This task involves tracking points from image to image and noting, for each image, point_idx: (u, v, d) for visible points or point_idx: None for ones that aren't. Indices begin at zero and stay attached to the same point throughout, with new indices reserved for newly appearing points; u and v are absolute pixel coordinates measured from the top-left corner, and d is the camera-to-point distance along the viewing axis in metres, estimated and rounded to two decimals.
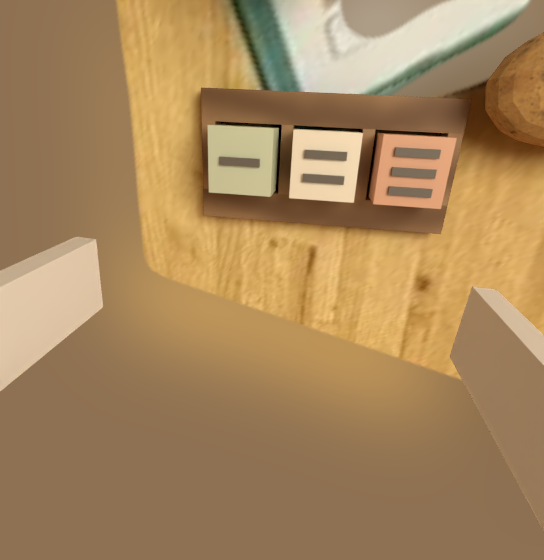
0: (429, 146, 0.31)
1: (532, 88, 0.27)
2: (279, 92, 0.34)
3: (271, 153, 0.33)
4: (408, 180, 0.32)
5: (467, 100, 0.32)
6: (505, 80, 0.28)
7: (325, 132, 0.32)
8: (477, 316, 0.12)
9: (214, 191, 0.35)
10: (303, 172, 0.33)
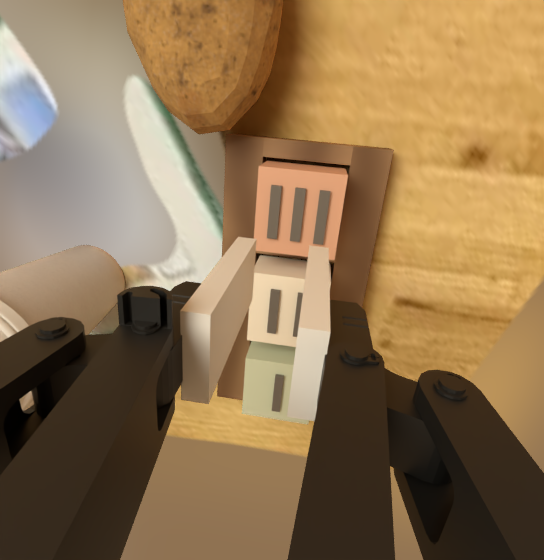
0: (267, 197, 0.25)
1: (197, 92, 0.22)
2: None
3: (270, 362, 0.30)
4: (307, 219, 0.25)
5: (227, 138, 0.27)
6: (193, 121, 0.23)
7: (250, 309, 0.29)
8: None
9: None
10: (291, 333, 0.29)
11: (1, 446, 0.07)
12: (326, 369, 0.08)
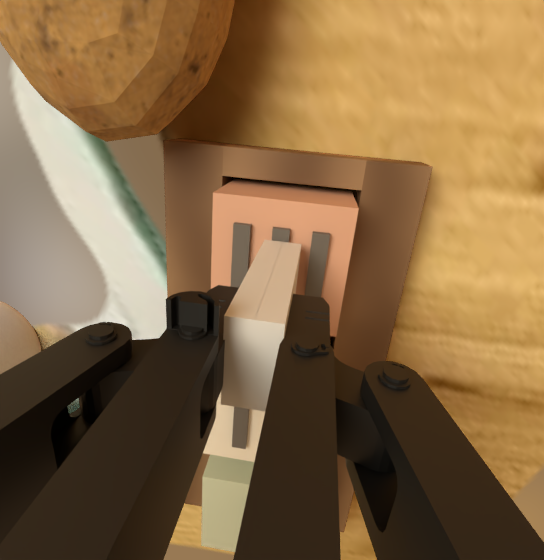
0: (228, 241, 0.16)
1: (78, 64, 0.11)
2: None
3: (239, 484, 0.20)
4: None
5: (166, 147, 0.17)
6: (85, 120, 0.13)
7: None
8: None
9: None
10: None
11: (47, 452, 0.07)
12: (277, 362, 0.08)
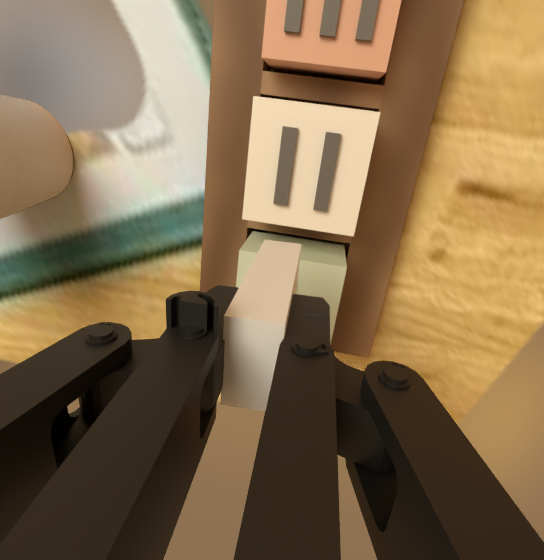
0: None
1: None
2: (205, 226, 0.24)
3: None
4: None
5: None
6: None
7: (249, 165, 0.18)
8: None
9: None
10: (311, 207, 0.19)
11: (47, 452, 0.07)
12: (278, 362, 0.08)
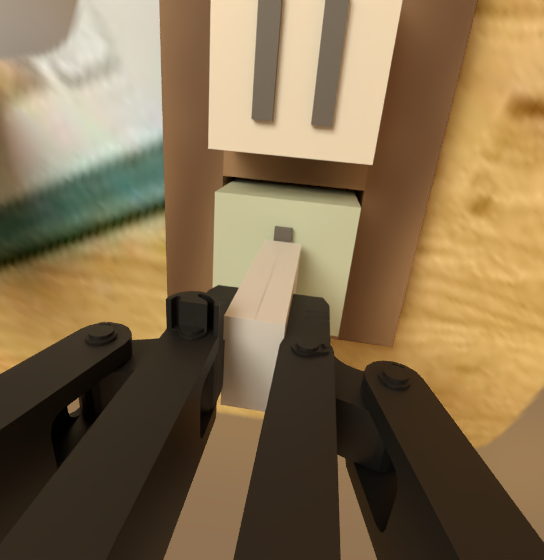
0: None
1: None
2: (166, 177, 0.18)
3: (265, 199, 0.15)
4: None
5: None
6: None
7: (212, 61, 0.12)
8: None
9: (337, 325, 0.17)
10: (308, 123, 0.13)
11: (47, 453, 0.07)
12: (277, 362, 0.08)
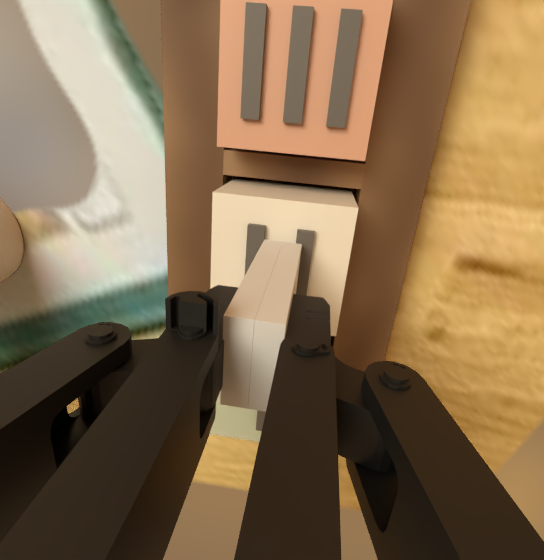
0: (239, 34, 0.13)
1: None
2: None
3: None
4: (315, 78, 0.13)
5: None
6: None
7: (213, 264, 0.16)
8: None
9: None
10: None
11: (47, 452, 0.07)
12: (278, 362, 0.08)
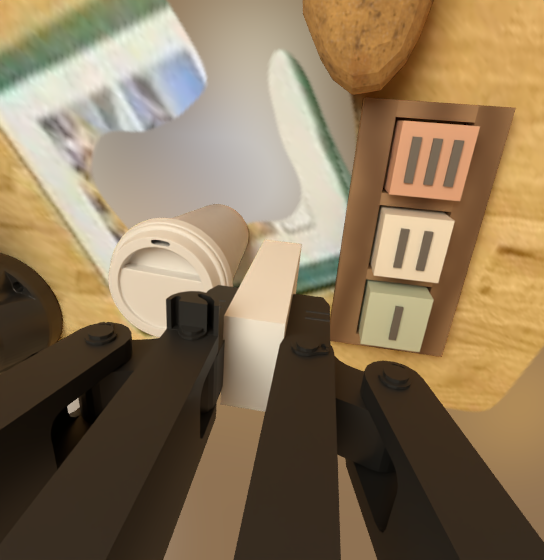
0: (407, 147, 0.30)
1: (368, 54, 0.26)
2: (338, 279, 0.38)
3: (392, 295, 0.35)
4: (440, 166, 0.31)
5: (365, 101, 0.32)
6: (356, 81, 0.28)
7: (380, 247, 0.34)
8: None
9: (419, 347, 0.37)
10: (414, 268, 0.34)
11: (47, 452, 0.07)
12: (277, 362, 0.08)
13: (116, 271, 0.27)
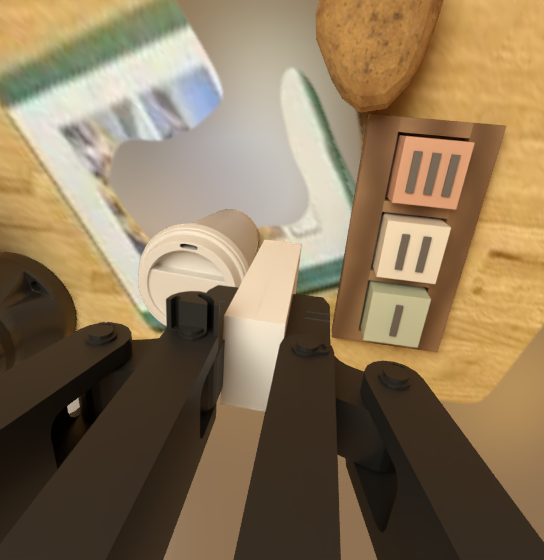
0: (409, 160, 0.33)
1: (376, 78, 0.29)
2: (343, 279, 0.41)
3: (393, 295, 0.38)
4: (438, 177, 0.34)
5: (370, 117, 0.35)
6: (365, 101, 0.30)
7: (382, 251, 0.37)
8: None
9: (417, 343, 0.40)
10: (413, 270, 0.37)
11: (47, 452, 0.07)
12: (277, 362, 0.08)
13: (146, 272, 0.29)
